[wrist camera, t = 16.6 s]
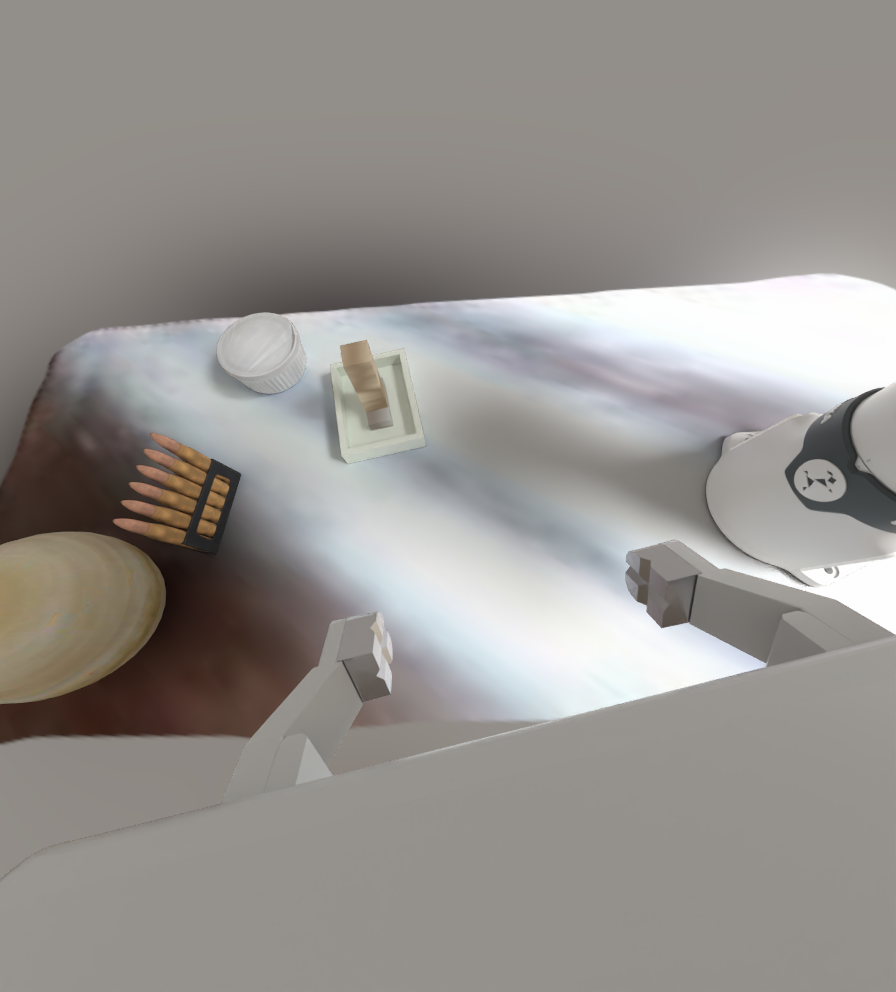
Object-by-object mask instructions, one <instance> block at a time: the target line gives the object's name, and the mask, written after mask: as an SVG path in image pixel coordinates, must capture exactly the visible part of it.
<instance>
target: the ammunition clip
mask: <svg viewBox="0 0 896 992" xmlns="http://www.w3.org/2000/svg"><path fill="white" fill-rule="evenodd" d="M150 436H151V437H152V438H153V440H155V441H156V442H157V443H158V444H159V445H161V446H162V447H163V448H165V449H167V450H168V451H170V452H171V453H173V454H175V455H176V456H178V457H179V458H180V459H181V460H183V461H184V462H183V461H180V460H178V459H175V458H173V457H171V456H169V455H167V454H164V453H161V452H159V451H155V450H151V449H143V451H144V453H145V454H146V455H147V456H148V457H149V458H151V459H152V460H153V461H155V462H157V463H158V464H160V465H162V466H164V467H165V468H167V469H169V470H171V471H172V472H174V473H175V474H176V475H178V476H175V475H172V474H169V473H166V472H164V471H161V470H159V469H156V468H153V467H148V466H143V465H137V466H136V468H137V469H138V470H139V471H140V472H141V473H142V474H144V475H145V476H147V477H148V478H150V479H152V480H154V481H156V482H159V483H160V484H162V485H164V486H166V487H167V488H169V489H170V490H172V491H175V492H172V491H167V490H164V489H161V488H158V487H155V486H152V485H148V484H144V483H138V482H130V483H129V485H130V487H131V488H133V489H134V490H135V491H137V492H139V493H140V494H142V495H144V496H147V497H149V498H152V499H153V500H156V501H158V502H160V503H162V504H163V505H165V506H168V507H171V508H173V509H176V510H179V511H176V510H173V509H170V508H166V507H159V506H156V505H151V504H148V503H145V502H140V501H134V500H123V501H121V503H122V504H123V505H124V506H125V507H126V508H128V509H130V510H132V511H134V512H136V513H138V514H141V515H145V516H147V517H149V518H152V519H154V520H156V521H158V522H161V523H164V524H167V525H171V526H174V527H169V526H165V525H162V524H153V523H148V522H143V521H139V520H133V519H114V520H113V522H114V523H115V524H116V525H117V526H119V527H121V528H123V529H125V530H128V531H131V532H134V533H138V534H141V535H144V536H147V537H149V538H151V539H154V540H158V541H162V542H167V543H171V544H174V545H177V546H181V547H184V548H188V549H191V550H195V551H198V552H201V553H211V554H216V553H217V551H218V548H219V544H220V541H221V538H222V535H223V532H224V528H225V525H226V522H227V519H228V516H229V512H230V509H231V506H232V503H233V500H234V496H235V493H236V490H237V487H238V484H239V481H240V477H241V474H240V473H239V472H237V471H235V470H233V469H231V468H229V467H227V466H225V465H223V464H222V463H220V462H218V461H216V460H214V459H209V458H208V457H206V456H204V455H202V454H201V453H199V452H197V451H196V450H194V449H192V448H190V447H187V446H184V445H182V444H180V443H178V442H176V441H174V440H173V439H170V438H168V437H166V436H163V435H160V434H155V433H150ZM179 476H180V477H179ZM176 492H177V493H176ZM178 493H179V494H178ZM181 494H182V495H181ZM183 495H184V496H183ZM193 499H194V500H193ZM188 514H190V515H188ZM191 515H192V516H191ZM202 519H204V520H202ZM183 529H184V530H187V531H184V530H183ZM197 533H198V534H200V535H198V534H197Z"/></svg>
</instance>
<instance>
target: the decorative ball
mask: <svg viewBox="0 0 896 992" xmlns="http://www.w3.org/2000/svg"><path fill="white" fill-rule="evenodd" d="M165 601H166V588H165V582H164V578H163V576H162V574H161V572H160V570H159V568H158V567H157V566H156V564H155V563H154V562H153V561H152V560H151V558H150V557H149V556H148V555H147V554H146V553H144V552H143V551H141V550H140V549H139V548H137V547H135V546H133V545H131V544H129V543H127V542H125V541H122V540H120V539H118V538H115V537H110V536H105V535H101V534H95V533H90V532H55V533H47V534H38V535H34V536H31V537H27V538H23V539H19V540H16V541H12V542H8V543H5V544H2V545H0V704H6V703H23V702H31V701H39V700H44V699H48V698H52V697H57V696H61V695H63V694H66V693H69V692H72V691H75V690H77V689H80V688H82V687H85V686H87V685H90V684H92V683H94V682H96V681H98V680H100V679H101V678H103V677H105V676H107V675H108V674H110V673H112V672H113V671H115V670H116V669H118V668H119V667H120V666H122V665H123V664H124V663H126V662H127V661H128V660H130V659H131V658H132V657H133V656H134V655H135V654H136V653H137V652H138V651H139V650H140V649H141V648H142V647H143V646H144V645H145V644H146V643H147V641H148V640H149V639H150V637H151V636H152V634H153V633H154V632H155V630H156V628H157V626H158V624H159V622H160V620H161V618H162V614H163V610H164V607H165Z"/></svg>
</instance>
